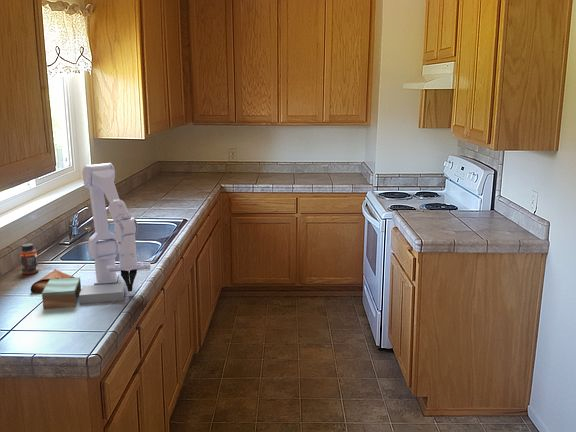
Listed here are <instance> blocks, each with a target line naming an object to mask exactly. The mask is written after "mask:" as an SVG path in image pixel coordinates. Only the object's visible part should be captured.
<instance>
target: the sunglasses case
mask: <svg viewBox="0 0 576 432" xmlns="http://www.w3.org/2000/svg"><path fill="white" fill-rule="evenodd" d="M63 278H75V276H73V275H69V274H67V273H65V272H62V271H60V270H57V268H55V269H54V270H52V271H51V272H49V273H48V274H46V275H44V276H43V277H42V278H40V279H39V280H36V281H35V282H34V283H33V284H31V287H30V293H32V294H42V292H43V290H44V289H45V287H46V285H47V283H48V282H49V280H50V279H63Z"/></svg>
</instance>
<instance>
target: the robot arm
mask: <svg viewBox="0 0 576 432" xmlns="http://www.w3.org/2000/svg"><path fill="white" fill-rule="evenodd" d="M115 169H116V168H115V166H114V165H113V164H112V162H107V163H97V164H85V165H84V166H83V169H82V170H81V171H82V180H83V185H84V186H83V187H84V188H86V189H88V192H89V197H90V205H91V212H92V219H93V220H92V221H93V226H94V233H93V234H92V235H91V236H90V237H89V238H88V248H87V249H88V254H89V256H90V258H92V259H93V260H94V269H95V279H94V282H93V285H103V284H117V282H118V279H119V273H118V272H120V276H121V278H122V279H123V281H124V284H125V285H126V288H127V292H132V291H133V285H134V282H135V280H136V279H135V278H136V276H137V273H138V271H142V270H143V271H144V270H145V271H146V270H147V271H151V262H146V263H145V262H137V261H138V258H137V242H136V235H137V234H138V231H139V225H138V222H137V220H136V218H135V217H134V216H133V215H131V214H130V212H129V210H128V208H127V205H126V203H125V201H123V200H122V199H120V197H119V194H118V191H117V188H116V185H115V180H116V179H115V177H116V171H115ZM105 198H106V199H107V201H108V203H109V204H108V207H106V199H105ZM107 208H108V211H109V213H110V216H111V219H112V220H113V223H114V224H113V230H114V231H113V232H114V233H113V232H112V231H110V227H109V221H108V214H107ZM117 255H118V258H119V263H118V264H116V258H117Z"/></svg>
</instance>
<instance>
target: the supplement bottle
mask: <svg viewBox="0 0 576 432" xmlns="http://www.w3.org/2000/svg"><path fill="white" fill-rule="evenodd" d="M19 256H20V266H21V272H22V274H24V275H33V274H37V273H38V272H39V262H38V254H37V248H36V249H35V248H34V244H33V243H31V242H30V243H28V242H27V243H25V244H24V243H23V244H22V245H21V250H20V251H19Z"/></svg>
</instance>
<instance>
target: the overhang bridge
mask: <svg viewBox="0 0 576 432" xmlns="http://www.w3.org/2000/svg"><path fill="white" fill-rule="evenodd" d="M81 289H82V285H81V277H74V278H63V279H50V280H49V282H48V283H47V285H46V287H45V289H44V290H43V292H42V293H41V299H42V306H43V308H42V309H43V310H46V309H58V308H69V307H70V308H73V307H74V308H75V307H76V306H77V299H76V297H77V296H76V294H80V292H81Z"/></svg>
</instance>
